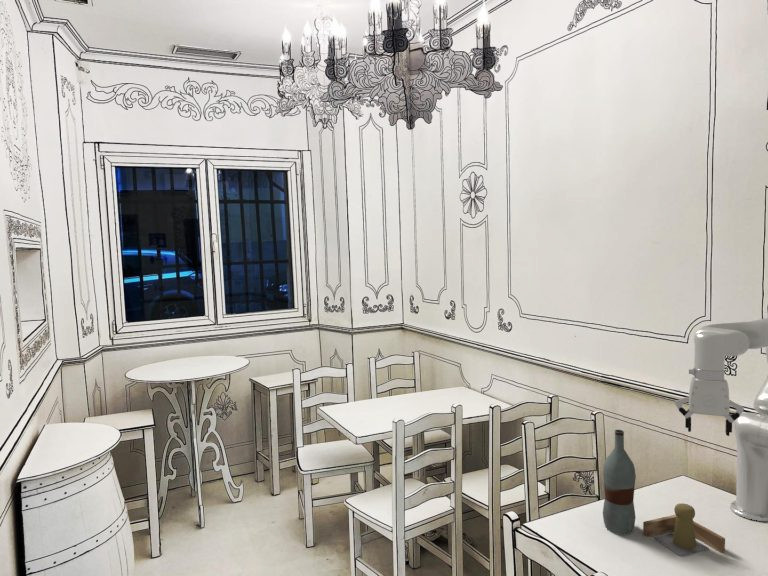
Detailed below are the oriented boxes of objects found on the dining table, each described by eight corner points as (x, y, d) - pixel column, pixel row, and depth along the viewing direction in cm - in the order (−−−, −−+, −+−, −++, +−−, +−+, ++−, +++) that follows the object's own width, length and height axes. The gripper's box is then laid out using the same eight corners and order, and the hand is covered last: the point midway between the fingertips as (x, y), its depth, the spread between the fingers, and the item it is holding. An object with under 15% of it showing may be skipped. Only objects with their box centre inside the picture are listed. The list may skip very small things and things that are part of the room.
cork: (692, 538, 163) (693, 501, 162) (699, 549, 157) (699, 511, 156) (669, 536, 164) (670, 499, 163) (675, 547, 158) (676, 509, 157)
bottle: (598, 520, 176) (598, 425, 173) (629, 520, 175) (629, 425, 173) (608, 535, 166) (608, 436, 164) (640, 536, 165) (640, 436, 163)
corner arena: (679, 526, 170) (679, 513, 170) (724, 552, 156) (725, 538, 155) (643, 534, 166) (643, 521, 166) (686, 562, 151) (686, 547, 151)
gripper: (675, 375, 163) (675, 432, 165) (746, 380, 156) (744, 440, 157) (675, 369, 170) (674, 425, 171) (742, 374, 162) (741, 432, 164)
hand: (708, 432), depth 164 cm, fingers open, 9 cm apart
